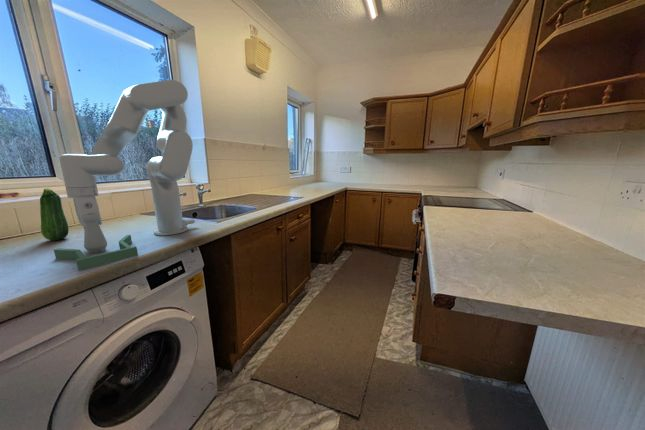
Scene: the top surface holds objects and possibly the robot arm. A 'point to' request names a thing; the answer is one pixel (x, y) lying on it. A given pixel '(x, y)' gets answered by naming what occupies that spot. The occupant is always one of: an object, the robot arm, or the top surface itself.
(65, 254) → the green angled channel piece
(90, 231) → the salt shaker
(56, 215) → the vegetable
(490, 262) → the top surface
